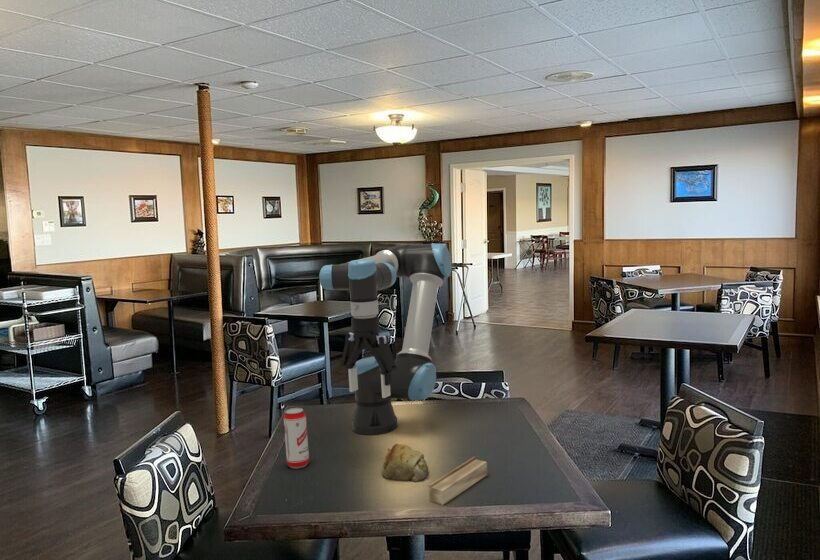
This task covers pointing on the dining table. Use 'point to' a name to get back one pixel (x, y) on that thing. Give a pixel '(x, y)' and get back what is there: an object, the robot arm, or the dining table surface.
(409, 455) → the pastry
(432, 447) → the dining table surface
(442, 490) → the wooden block
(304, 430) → the beer can
